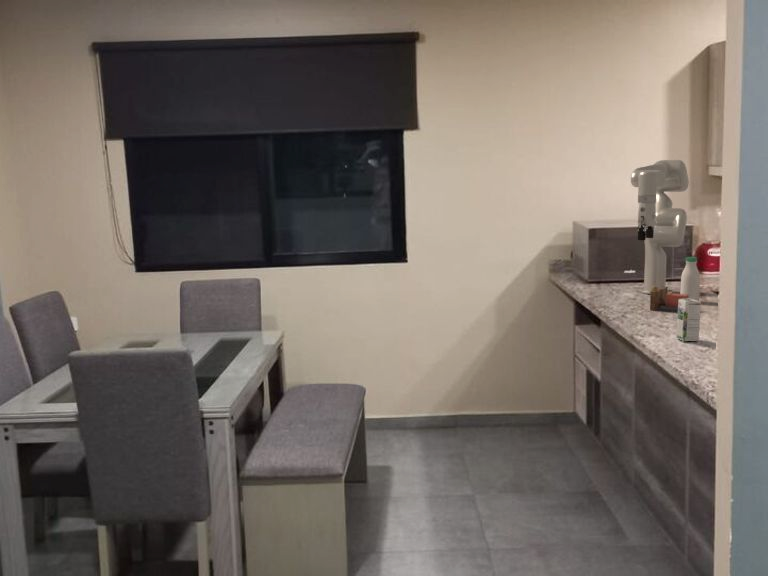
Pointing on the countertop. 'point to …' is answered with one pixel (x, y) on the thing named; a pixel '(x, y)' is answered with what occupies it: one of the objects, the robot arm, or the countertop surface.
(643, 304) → the countertop surface
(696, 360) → the countertop surface
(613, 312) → the countertop surface
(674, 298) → the red block
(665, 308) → the tray
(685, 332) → the syrup box
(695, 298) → the milk bottle
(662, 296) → the door board
